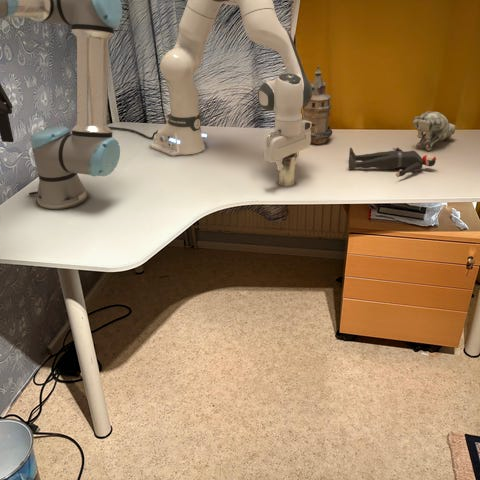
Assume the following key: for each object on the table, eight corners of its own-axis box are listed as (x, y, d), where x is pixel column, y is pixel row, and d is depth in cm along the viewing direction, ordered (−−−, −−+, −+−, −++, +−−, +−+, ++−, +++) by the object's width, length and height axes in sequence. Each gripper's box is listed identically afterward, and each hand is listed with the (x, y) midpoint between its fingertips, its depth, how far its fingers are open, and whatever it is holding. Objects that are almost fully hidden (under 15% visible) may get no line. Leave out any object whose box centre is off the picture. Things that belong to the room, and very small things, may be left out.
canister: (285, 187, 179) (286, 159, 174) (275, 182, 183) (276, 154, 178) (297, 183, 182) (298, 155, 177) (287, 179, 186) (288, 151, 181)
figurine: (442, 162, 206) (466, 135, 215) (430, 119, 197) (456, 92, 206) (420, 162, 213) (444, 135, 222) (407, 120, 205) (433, 94, 213)
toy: (350, 139, 204) (432, 140, 198) (349, 155, 207) (431, 156, 201) (348, 164, 182) (441, 166, 176) (347, 181, 185) (438, 183, 179)
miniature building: (320, 132, 228) (325, 59, 214) (338, 142, 217) (344, 66, 203) (293, 137, 224) (296, 63, 209) (310, 147, 213) (314, 69, 198)
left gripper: (-53, 68, 102) (-25, 172, 112) (15, 45, 123) (33, 134, 134) (-89, 67, 103) (-57, 170, 114) (-15, 45, 125) (6, 133, 135)
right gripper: (274, 136, 164) (273, 178, 171) (315, 121, 177) (312, 161, 184) (259, 132, 168) (259, 173, 175) (300, 117, 181) (298, 156, 188)
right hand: (287, 166), depth 180 cm, fingers closed on canister, 5 cm apart
